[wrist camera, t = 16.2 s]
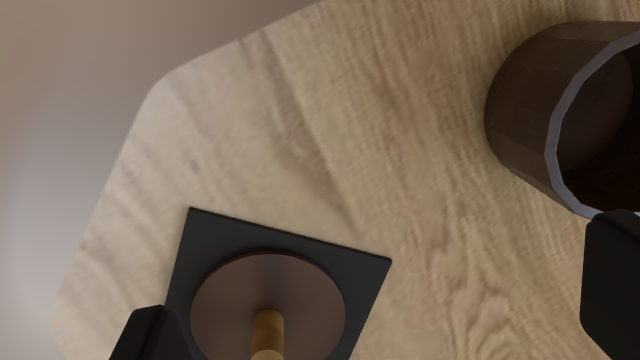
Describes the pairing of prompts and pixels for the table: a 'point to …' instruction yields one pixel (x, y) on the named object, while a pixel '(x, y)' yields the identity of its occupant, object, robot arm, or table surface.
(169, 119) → the table surface
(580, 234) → the table surface
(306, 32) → the table surface
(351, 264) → the mat
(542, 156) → the tin
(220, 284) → the tin lid
